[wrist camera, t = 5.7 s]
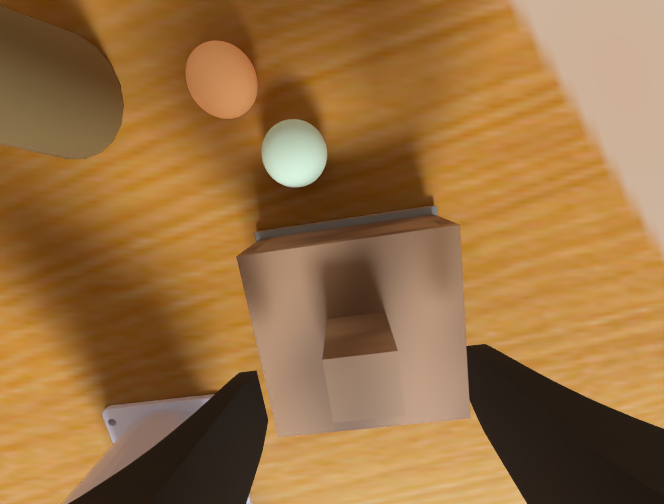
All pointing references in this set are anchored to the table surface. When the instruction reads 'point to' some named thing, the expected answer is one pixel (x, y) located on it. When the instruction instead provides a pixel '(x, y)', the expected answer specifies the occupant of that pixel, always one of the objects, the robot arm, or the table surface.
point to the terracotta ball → (221, 79)
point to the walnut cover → (360, 325)
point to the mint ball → (294, 153)
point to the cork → (55, 90)
